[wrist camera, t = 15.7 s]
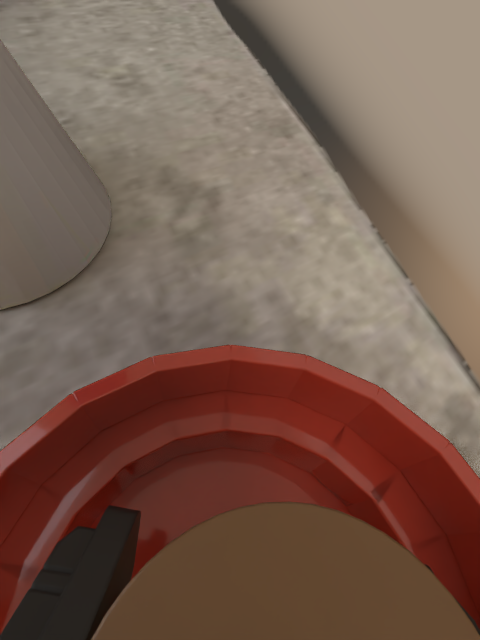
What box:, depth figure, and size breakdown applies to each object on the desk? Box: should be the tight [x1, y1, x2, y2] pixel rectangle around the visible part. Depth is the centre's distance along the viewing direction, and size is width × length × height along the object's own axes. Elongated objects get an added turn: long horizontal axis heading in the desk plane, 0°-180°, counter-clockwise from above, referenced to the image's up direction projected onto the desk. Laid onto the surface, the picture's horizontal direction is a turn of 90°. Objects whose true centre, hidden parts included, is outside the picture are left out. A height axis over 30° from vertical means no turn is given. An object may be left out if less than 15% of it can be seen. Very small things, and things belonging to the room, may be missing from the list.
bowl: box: [0, 345, 480, 635], centre depth 10 cm, size 14×14×6 cm
